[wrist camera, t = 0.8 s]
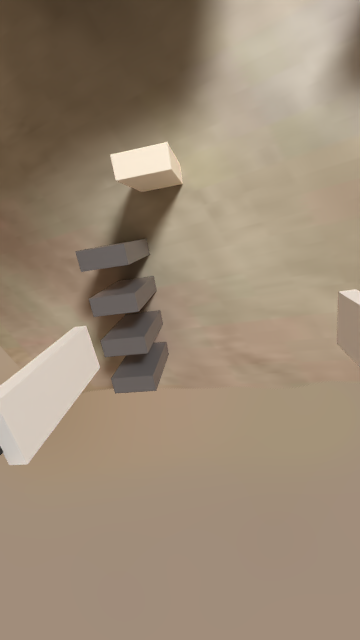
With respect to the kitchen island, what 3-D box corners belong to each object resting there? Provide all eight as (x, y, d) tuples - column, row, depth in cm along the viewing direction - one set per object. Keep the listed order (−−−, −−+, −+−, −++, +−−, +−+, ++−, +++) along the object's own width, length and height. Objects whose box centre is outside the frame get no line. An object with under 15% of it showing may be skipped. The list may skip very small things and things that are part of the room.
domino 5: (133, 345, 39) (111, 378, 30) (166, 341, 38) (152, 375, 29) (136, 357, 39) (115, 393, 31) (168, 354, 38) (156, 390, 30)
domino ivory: (138, 173, 31) (110, 154, 22) (180, 164, 30) (167, 141, 22) (141, 192, 31) (115, 180, 23) (182, 184, 31) (171, 169, 22)
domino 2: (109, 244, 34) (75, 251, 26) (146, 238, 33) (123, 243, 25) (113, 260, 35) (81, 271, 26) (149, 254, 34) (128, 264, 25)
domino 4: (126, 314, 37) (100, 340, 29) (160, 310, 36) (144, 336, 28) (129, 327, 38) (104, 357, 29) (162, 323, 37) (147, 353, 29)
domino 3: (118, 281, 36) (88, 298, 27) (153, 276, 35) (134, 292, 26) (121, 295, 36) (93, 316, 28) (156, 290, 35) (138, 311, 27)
